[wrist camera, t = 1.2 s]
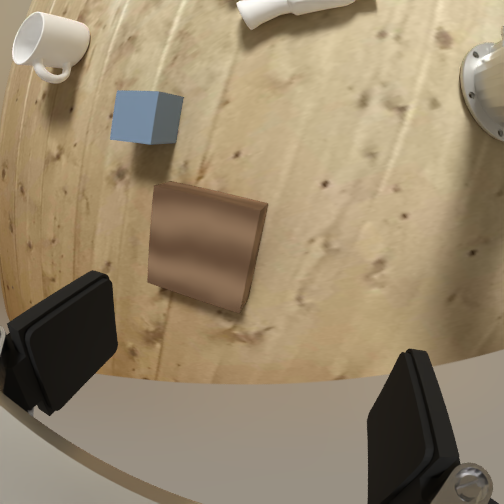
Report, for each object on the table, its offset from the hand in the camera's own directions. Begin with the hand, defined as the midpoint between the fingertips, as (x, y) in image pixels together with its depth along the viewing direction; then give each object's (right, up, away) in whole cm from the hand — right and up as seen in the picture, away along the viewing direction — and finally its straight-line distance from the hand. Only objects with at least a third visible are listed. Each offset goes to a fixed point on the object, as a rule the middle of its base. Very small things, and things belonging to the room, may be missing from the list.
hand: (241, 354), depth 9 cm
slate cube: (-11, +20, +27) cm, 36 cm away
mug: (-28, +34, +27) cm, 52 cm away
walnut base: (-5, +5, +31) cm, 32 cm away
